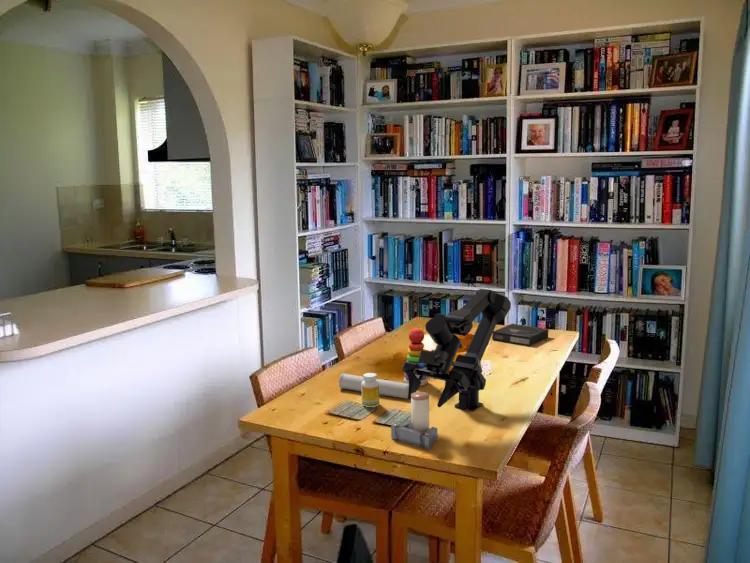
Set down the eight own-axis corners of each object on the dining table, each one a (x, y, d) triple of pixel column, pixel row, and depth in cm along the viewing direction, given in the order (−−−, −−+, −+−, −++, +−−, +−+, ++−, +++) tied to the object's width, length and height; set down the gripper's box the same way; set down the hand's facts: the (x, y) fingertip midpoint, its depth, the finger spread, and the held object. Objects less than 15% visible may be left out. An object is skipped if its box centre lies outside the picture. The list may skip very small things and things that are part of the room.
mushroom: (418, 432, 178) (417, 390, 176) (433, 436, 175) (432, 394, 173) (408, 438, 174) (407, 395, 172) (422, 442, 171) (422, 399, 169)
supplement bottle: (360, 402, 201) (359, 372, 199) (376, 400, 202) (376, 371, 201) (364, 409, 196) (363, 378, 194) (381, 407, 197) (380, 376, 196)
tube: (416, 383, 206) (347, 373, 217) (410, 383, 201) (339, 372, 212) (414, 400, 205) (345, 389, 217) (407, 401, 201) (337, 389, 212)
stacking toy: (415, 389, 212) (414, 333, 209) (398, 383, 218) (397, 328, 215) (432, 383, 217) (432, 328, 214) (416, 377, 223) (415, 324, 220)
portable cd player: (492, 341, 267) (492, 331, 266) (512, 332, 280) (512, 323, 279) (528, 348, 257) (529, 338, 256) (548, 338, 269) (548, 329, 269)
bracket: (404, 431, 179) (404, 417, 179) (441, 441, 172) (441, 427, 171) (391, 438, 175) (391, 424, 174) (428, 449, 167) (428, 435, 167)
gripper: (405, 333, 181) (382, 382, 174) (464, 343, 170) (442, 395, 163) (420, 354, 189) (399, 401, 182) (478, 364, 178) (458, 415, 171)
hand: (423, 403), depth 174 cm, fingers open, 9 cm apart
